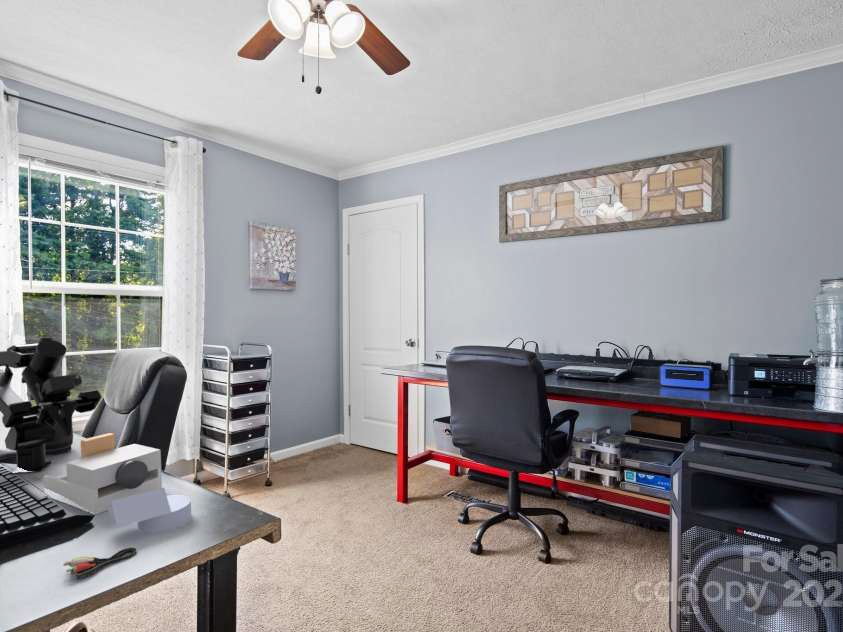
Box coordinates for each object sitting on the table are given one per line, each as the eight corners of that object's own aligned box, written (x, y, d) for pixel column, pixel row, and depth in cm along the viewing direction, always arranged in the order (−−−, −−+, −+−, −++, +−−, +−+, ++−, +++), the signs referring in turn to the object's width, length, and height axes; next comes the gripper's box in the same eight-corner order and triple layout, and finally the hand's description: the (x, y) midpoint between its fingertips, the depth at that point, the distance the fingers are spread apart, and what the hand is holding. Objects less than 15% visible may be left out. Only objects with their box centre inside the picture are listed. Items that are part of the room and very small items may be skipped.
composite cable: (135, 550, 81) (134, 536, 81) (140, 562, 77) (140, 547, 77) (63, 573, 75) (62, 558, 74) (65, 587, 71) (64, 571, 71)
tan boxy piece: (67, 485, 101) (65, 443, 101) (123, 467, 111) (122, 429, 111) (88, 492, 97) (86, 449, 97) (144, 473, 107) (142, 434, 107)
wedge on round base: (118, 547, 82) (197, 521, 90) (116, 508, 81) (196, 487, 90) (108, 528, 88) (183, 507, 97) (106, 493, 88) (182, 474, 97)
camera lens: (54, 457, 129) (52, 403, 129) (30, 456, 131) (28, 402, 130) (81, 448, 137) (79, 397, 137) (58, 446, 139) (56, 396, 138)
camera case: (44, 496, 104) (42, 455, 103) (111, 474, 116) (110, 438, 116) (100, 517, 93) (98, 471, 93) (167, 490, 105) (165, 450, 105)
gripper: (5, 368, 105) (31, 424, 100) (96, 358, 121) (122, 405, 116) (-9, 400, 109) (16, 455, 104) (81, 386, 125) (106, 432, 121)
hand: (68, 435), depth 111 cm, fingers closed
